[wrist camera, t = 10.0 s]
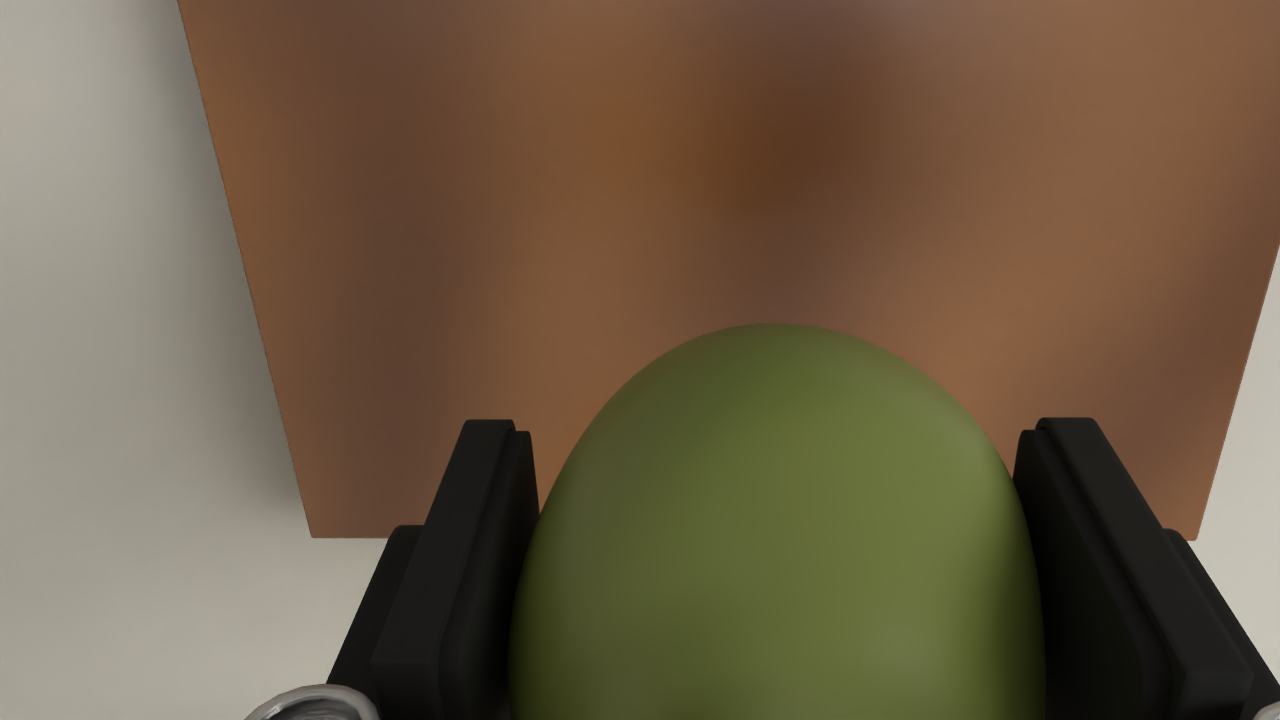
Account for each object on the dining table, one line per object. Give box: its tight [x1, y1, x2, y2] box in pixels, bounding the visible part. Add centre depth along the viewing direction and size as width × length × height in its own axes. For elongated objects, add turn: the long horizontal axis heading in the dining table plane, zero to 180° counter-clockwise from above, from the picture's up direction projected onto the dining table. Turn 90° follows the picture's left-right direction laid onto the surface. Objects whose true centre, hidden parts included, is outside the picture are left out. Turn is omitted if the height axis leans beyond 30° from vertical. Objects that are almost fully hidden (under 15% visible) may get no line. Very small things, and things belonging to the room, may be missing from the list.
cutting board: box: [177, 0, 1280, 541], centre depth 20 cm, size 20×13×2 cm, turn 92°
